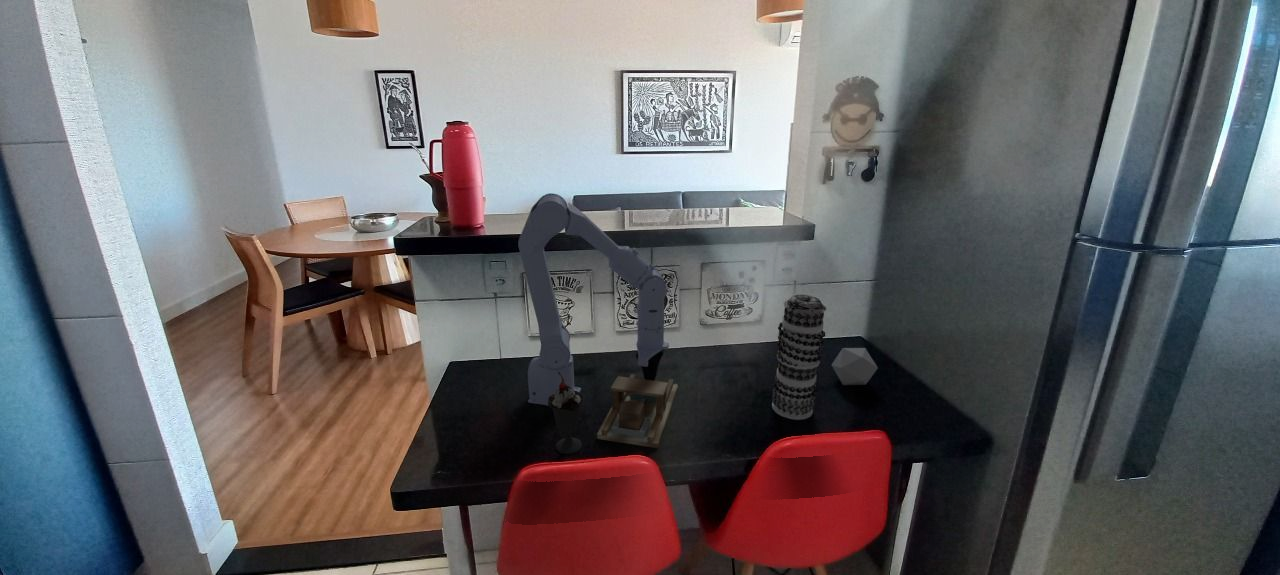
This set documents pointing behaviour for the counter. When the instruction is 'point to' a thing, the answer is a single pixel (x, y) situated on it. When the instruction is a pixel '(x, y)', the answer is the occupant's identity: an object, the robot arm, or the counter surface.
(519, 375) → the counter surface
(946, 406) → the counter surface
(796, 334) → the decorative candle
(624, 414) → the walnut block
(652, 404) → the tunnel board
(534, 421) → the counter surface
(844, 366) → the die
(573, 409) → the sundae
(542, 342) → the robot arm
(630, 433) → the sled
